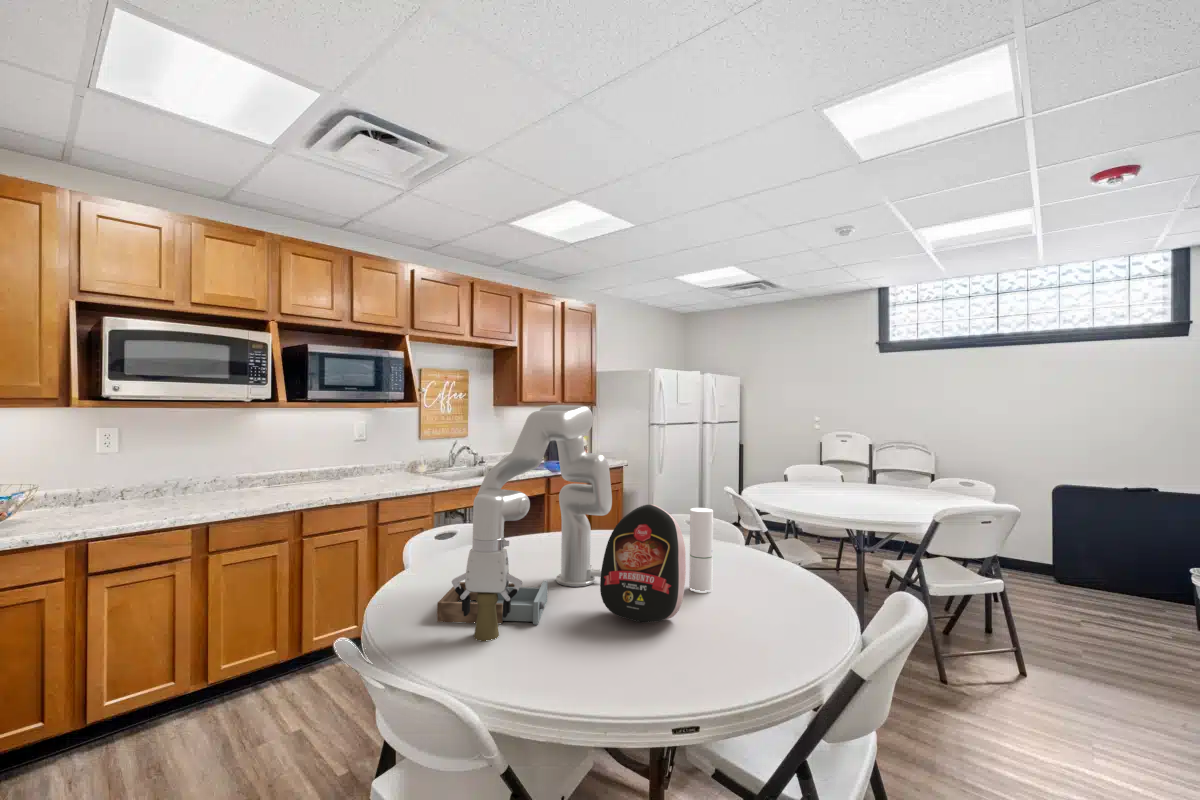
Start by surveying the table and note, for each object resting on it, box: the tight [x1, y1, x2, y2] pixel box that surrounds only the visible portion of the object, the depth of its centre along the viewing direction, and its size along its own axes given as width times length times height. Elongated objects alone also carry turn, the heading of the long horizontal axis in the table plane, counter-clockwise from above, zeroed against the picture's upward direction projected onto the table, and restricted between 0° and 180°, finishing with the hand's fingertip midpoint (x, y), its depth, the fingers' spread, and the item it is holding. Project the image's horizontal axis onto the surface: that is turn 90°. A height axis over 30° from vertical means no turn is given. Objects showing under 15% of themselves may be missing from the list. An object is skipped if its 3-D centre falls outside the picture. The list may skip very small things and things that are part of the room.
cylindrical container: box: [688, 507, 714, 591], centre depth 168 cm, size 7×7×25 cm
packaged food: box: [599, 503, 687, 624], centre depth 145 cm, size 22×20×30 cm
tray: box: [497, 580, 549, 625], centre depth 147 cm, size 18×18×6 cm
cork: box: [473, 593, 500, 642], centre depth 132 cm, size 6×6×11 cm
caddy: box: [436, 581, 515, 624], centre depth 148 cm, size 17×17×5 cm
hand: (486, 614), depth 131 cm, fingers open, 9 cm apart
